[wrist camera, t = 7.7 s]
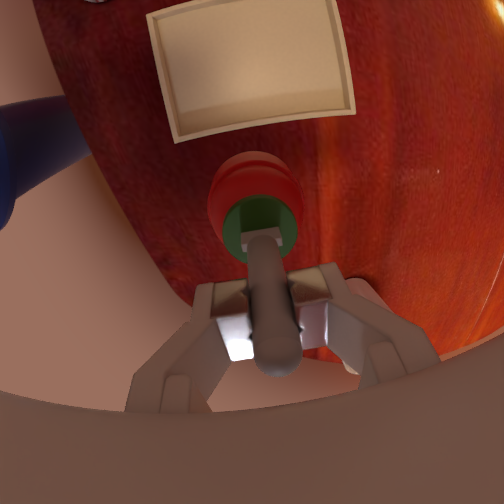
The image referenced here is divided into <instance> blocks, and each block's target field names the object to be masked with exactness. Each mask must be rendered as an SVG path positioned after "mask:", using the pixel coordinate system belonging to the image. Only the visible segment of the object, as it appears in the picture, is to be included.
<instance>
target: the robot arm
mask: <svg viewBox="0 0 504 504" xmlns="http://www.w3.org/2000/svg"><path fill="white" fill-rule="evenodd" d="M286 281H287V286H288V291H289V295H290V297H291V301H292V308H293V312H294V316H295V321H296V324H297V327H298V331H299V336H300V340H301V345H302V350H305V349H311V348H317V347H323V346H327V347H328V348H329V349H330V350H331V351H332V352H334V353H335V354H336V355H337V356H338V357H339V358H341V359H342V360H343V361H344V362H345V363H346V364H348V365H349V366H350V367H351V368H352V369H353V370H355V371H356V372H357V373H358V374H359V375H360V376H361V380H360V383H359V388H358V390H354V391H350V392H346V393H342V394H338V395H334V396H329V397H324V398H319V399H314V400H309V401H304V402H299V403H292V404H286V405H279V406H273V407H265V408H257V409H248V410H238V411H225V412H212V410H211V409H210V407H209V405H208V404H207V402H206V401H207V400H208V399H209V397H210V395H211V394H212V392H213V391H214V389H215V388H216V386H217V385H218V383H219V381H220V380H221V378H222V377H223V375H224V374H225V372H226V370H227V368H228V367H229V366H230V364H231V361H236V360H243V359H249V358H254V355H253V340H252V331H253V329H252V313H251V309H250V304H251V297H250V287H249V283H248V280H247V278H242V279H235V280H228V281H220V282H214V283H207V284H200V285H198V286H197V287H196V292H195V297H194V303H193V309H192V314H191V320H190V322H185V323H184V324H183V325H182V327H180V328H179V330H178V331H176V332H175V333H174V334H173V335H172V336H171V338H170V339H169V340H168V341H167V342H165V343H164V344H163V346H162V347H161V348H160V349H159V350H158V351H157V352H156V353H155V354H154V355H153V356H152V357H151V358H150V359H149V360H148V361H147V362H146V363H145V364H144V365H143V366H142V367H141V368H140V369H139V370H138V371H137V372H136V373H135V374H134V375H133V379H132V382H131V386H130V391H129V394H128V398H127V402H126V406H125V411H124V412H118V411H107V410H97V409H87V408H81V407H74V406H67V405H61V404H55V403H50V402H45V401H40V400H35V399H31V398H26V397H22V396H18V395H15V394H11V393H7V392H3V391H0V504H504V333H502V334H500V335H498V336H497V337H495V338H493V339H491V340H489V341H487V342H485V343H483V344H481V345H479V346H477V347H474V348H472V349H470V350H468V351H466V352H464V353H461V354H459V355H457V356H455V357H452V358H450V359H447V360H445V361H443V362H441V360H440V358H439V356H438V354H437V353H436V351H435V349H434V347H433V346H432V344H431V342H430V340H429V339H428V337H427V335H426V334H425V332H424V330H423V329H422V328H421V327H419V326H417V325H415V324H413V323H411V322H409V321H408V320H406V319H404V318H402V317H400V316H398V315H396V314H394V313H392V312H391V311H389V310H387V309H385V308H383V307H381V306H379V305H377V304H375V303H373V302H372V301H370V300H368V299H366V298H364V297H362V296H360V295H358V294H354V295H352V293H351V291H350V289H349V287H348V285H347V283H346V281H345V279H344V277H343V275H342V273H341V272H340V270H339V268H338V266H337V264H336V263H335V262H330V263H326V264H321V265H318V266H313V267H308V268H303V269H297V270H292V271H286Z"/></svg>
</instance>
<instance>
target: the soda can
mask: <svg viewBox="0 0 504 504" xmlns="http://www.w3.org/2000/svg"><path fill="white" fill-rule="evenodd" d="M86 1H90V2H103V1H106V0H86Z"/></svg>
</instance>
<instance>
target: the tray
mask: <svg viewBox="0 0 504 504" xmlns="http://www.w3.org/2000/svg"><path fill="white" fill-rule="evenodd" d="M146 17H147V22H148V28H149V33H150V38H151V43H152V48H153V53H154V58H155V63H156V67H157V72H158V77H159V81H160V86H161V90H162V94H163V99H164V103H165V107H166V111H167V116H168V120H169V124H170V128H171V132H172V136H173V140H174V143H179V142H183V141H186V140H190V139H195V138H199V137H203V136H207V135H212V134H216V133H221V132H226V131H231V130H236V129H241V128H246V127H252V126H258V125H264V124H270V123H277V122H284V121H291V120H299V119H307V118H316V117H326V116H338V115H351V114H356V108H355V100H354V92H353V85H352V78H351V72H350V65H349V60H348V54H347V49H346V43H345V38H344V34H343V29H342V24H341V20H340V16H339V11H338V7H337V3H336V0H194V1H190V2H186V3H182V4H178V5H175V6H171V7H168V8H165V9H162V10H158V11H155V12H152V13H149V14H146Z"/></svg>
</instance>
